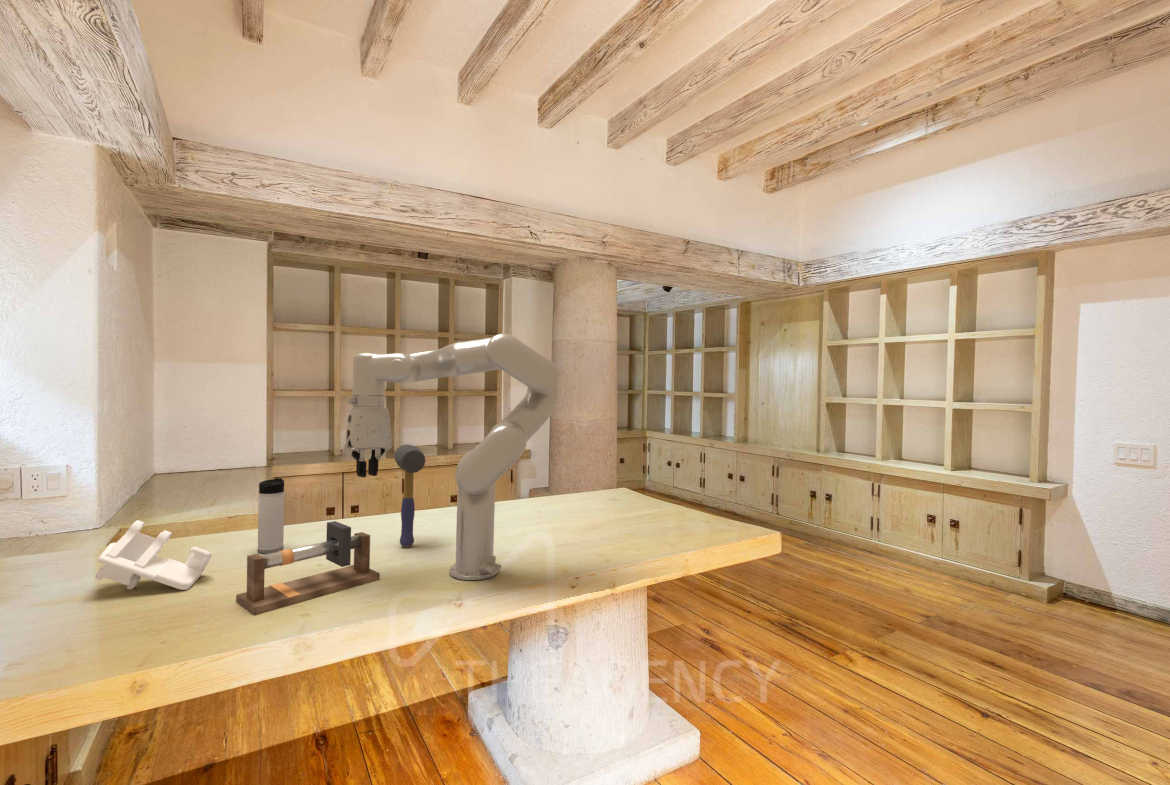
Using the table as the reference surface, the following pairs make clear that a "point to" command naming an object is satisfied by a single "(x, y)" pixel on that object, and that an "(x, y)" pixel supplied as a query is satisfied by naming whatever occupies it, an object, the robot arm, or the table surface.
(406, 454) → the rubber mallet
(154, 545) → the white angular bracket piece
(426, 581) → the table surface
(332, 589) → the pipe stand
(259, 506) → the travel mug
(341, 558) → the collar
